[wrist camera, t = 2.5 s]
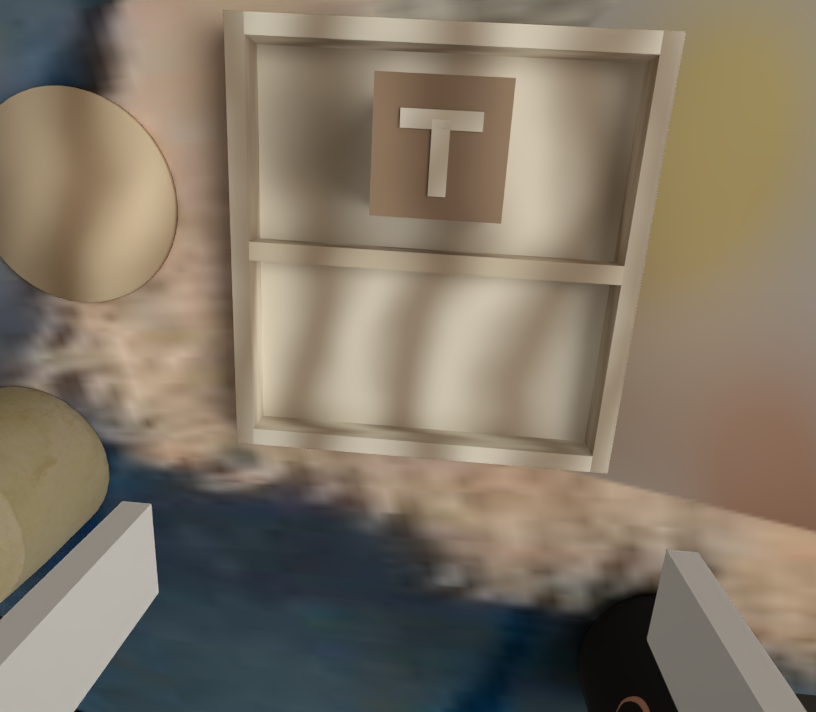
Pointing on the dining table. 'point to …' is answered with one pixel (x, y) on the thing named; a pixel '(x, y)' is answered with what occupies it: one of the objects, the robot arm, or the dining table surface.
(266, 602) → the dining table surface
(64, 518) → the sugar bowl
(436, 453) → the tray
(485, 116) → the letter cube
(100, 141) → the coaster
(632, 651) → the coffee jar
